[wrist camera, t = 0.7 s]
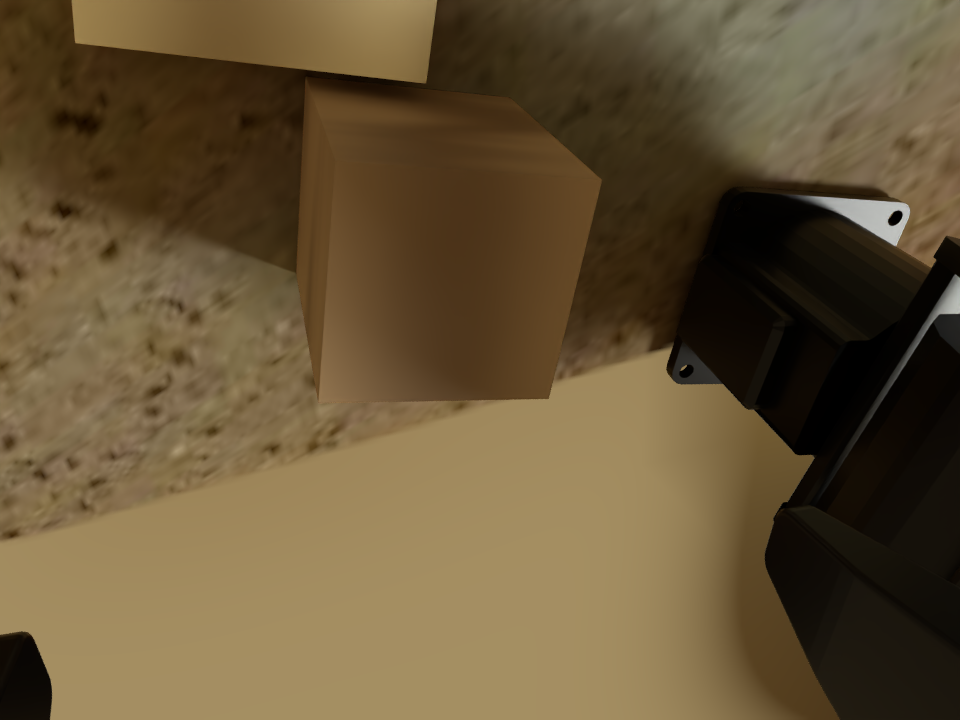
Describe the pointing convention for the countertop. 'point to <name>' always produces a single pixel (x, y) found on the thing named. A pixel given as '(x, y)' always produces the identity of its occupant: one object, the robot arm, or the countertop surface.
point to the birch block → (271, 32)
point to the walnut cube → (435, 244)
